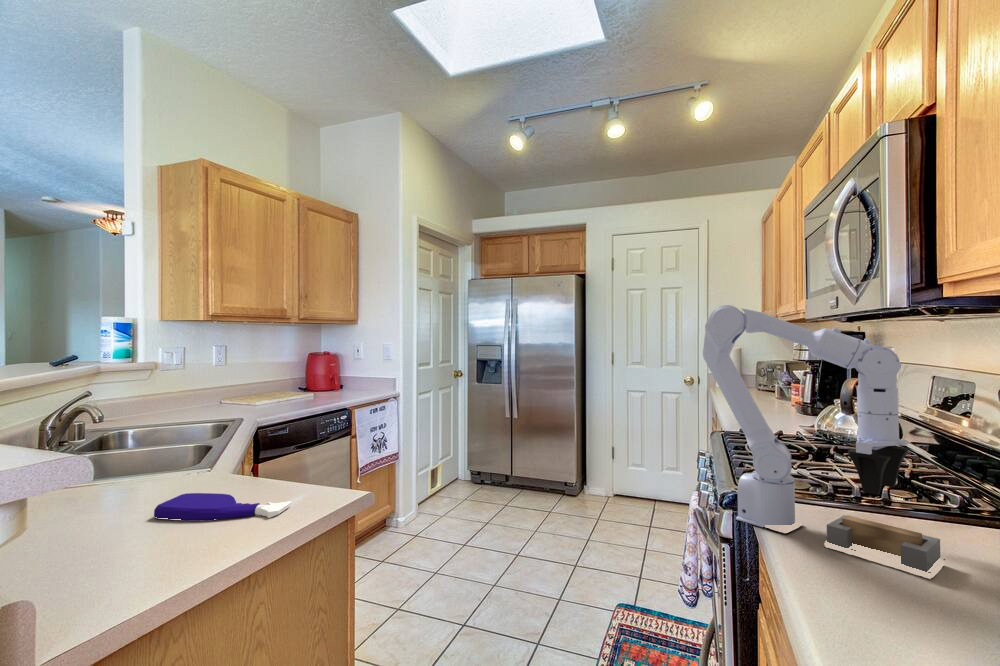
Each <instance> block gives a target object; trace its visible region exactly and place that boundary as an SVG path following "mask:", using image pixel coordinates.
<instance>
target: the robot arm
mask: <svg viewBox="0 0 1000 666" xmlns="http://www.w3.org/2000/svg"><path fill="white" fill-rule="evenodd" d="M704 330H705V332H704V339H703V349H702V356H703V359H704V362H705V363H706V365H707V367H708V370H709V371H710V374H712V376H713V379H714V380H715V383H716V384H717V385H718V388H719V390H720V391H721V393H722V395H723V397H724V399H725V401H726V403H727V404H728V406H729V408H730V411H731V412H732V414H733V415H734V418H735V420H736V421H737V424H738V425H739V427H740V429H741V431H742V433H743V434H744V436H745V438H746V442H747V445H748V448H749V450H750V452H751V454H752V465H753V469H754V470H753V471H752V472H751V473H749V472H746V473H743V474H742V475H741V476H740V477H739V480H738V483H737V516H736V517H735V520H737V521H740V522H743V523H746V524H750V525H754V526H756V527H760V528H763V527H765V525H792V524H794V523H795V521H796V499H795V498H796V495H795V494H796V491H795V490H796V489H795V487H796V486H795V477H794V476H792V475H791V472H792V454H791V451H790V449H789V448H788V447H787V446H786V444H784V443H783V442H781V441H780V440H779V439H778V437H776V434H775V433H774V432H773V430H772V429H771V428H770V426H769V424H768V423H767V420H766V419H765V417H764V416H763V414H762V411H761V410H760V408H759V406H758V405H757V402H756V400H755V399H754V398H753V395H752V394H751V392H750V390H749V388H748V386H747V385H746V383H745V381H744V379H743V378H742V376H741V373H740V372H739V370H738V368H737V367H736V364H735V363H734V361H733V359H732V358H731V352H733V351H732V350H733V348H734V346H735V343H736V341H737V340H738V339H739V338H740V337H741V335H743V333H744V332H745V333H746V334H756V333H766V334H769V335H772V336H775V337H778V338H781V339H784V340H787V341H790V342H793V343H795V344H796V343H797V344H799V345H802V346H805V347H806V348H807V349H808V352H809V353H810V355H811V356H812V357H815V358H816V359H819V360H823V361H825V362H828V363H831V364H833V365H837V366H839V367H840V368H841V367H842V368H844V369H848V370H851V369H855V370H856V371H857V372H858V375H857V378H858V379H857V381H858V385H857V386H856V389H857V390H856V396H857V397H856V403H857V404H856V405H857V435H856V441H855V449H853V448H851V449H848V450H847V454H848V455H847V456H848V458H850V459H851V461H852V463H853V465H854V467H855V469H856V471H857V475H858V477H859V478H858V479H859V481H860V485H861V488H862V491H863V493H865V494H870V495H876V496H879V495H880V494H881V490H882V486H884V487H889V488H895V486H896V484H897V480H898V475H899V472H900V470H901V469H900V468H901V466H902V463H903V461H904V459H905V457H906V456H907V454H908V452H909V448H908V447H905V446H908V445H909V441H908V440H905V439H900V425H899V424H900V423H899V422H900V421H899V416H900V415H899V388H898V384H897V383H898V378H897V374H898V373H899V372H900V371H901V368H902V365H903V363H902V362H901V361H900V358H899V356H898V354H897V353H896V352H895V351H893V350H892V349H891V348H889V347H886V346H882V345H881V346H880V345H876V344H875V345H874V344H872V345H871V343H872V340H870V339H868V338H864V340H862V339H860V338H858V337H853V336H850V335H847V334H845V333H842V329H840V328H838V327H833V328H832V329H830V328H828V327H827V328H826V327H825V328H820V329H818V330H815V331H812V330H811V329H808V328H806V327H805V328H804V327H802V326H800V325H796V324H795V323H792V322H789V321H786V320H783V319H780V318H778V317H775V316H772V315H769V314H767V313H765V312H761V311H758V310H757V311H755V310H751V309H747V308H743V307H742V308H740V309H739V308H738V307H736V306H734V305H731V304H730V305H729V304H724V305H720V306H718V307H716V308H714V309H713V310H712V311H711V313H710V315H709V317H708V319H707V320H706V323H705V324H704Z"/></svg>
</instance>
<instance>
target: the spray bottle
mask: <svg viewBox="0 0 1000 666" xmlns="http://www.w3.org/2000/svg"><path fill="white" fill-rule="evenodd" d="M292 503H293V502H292V501H291V500H288V501H282V502H280V501H279V502H277V503H274V502H270V501H268V502H267V504H261V503H260V502H257V503H249V502H248V503H247V502H246V503H242V502H237V501H236V499H235V497H234V496H233V495H232V494H227V493H210V492H209V493H207V492H206V493H203V492H194V493H193V492H191V493H182V494H180V495H177V496H176V497H173V498H170V499H168V500H166V501H163V502H162V503H159V504H157V506H155V508H154V512H153V517H154V516H155V517H157V518H168V519H181V520H213V521H215V520H214V519H221V520H227V519H226V518H231V519H238V517H240V518H248V517H247V516H249V517H255V516H261V515H262V517H267V518H268V519H270V518H273V517H275V516H278V515H279V514H280V513H282V512H284V511H285V510H287V509H288V508H290V506H291V505H292ZM254 515H255V516H254ZM155 517H154V518H155Z"/></svg>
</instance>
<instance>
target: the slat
mask: <svg viewBox="0 0 1000 666" xmlns="http://www.w3.org/2000/svg"><path fill="white" fill-rule="evenodd" d="M842 525H843V526H847V527H851V528H852V543H853V544H857V545H861V546H864V547H868V548H871V549H876V550H880V551H883V552H887V553H891V554H894V555H898V556H901V544H903V543H904V542H907V543H911V544H915V545H919V546H922V535H923V533H921V532H918V531H913V530H909V529H905V528H900V527H897V526H893V525H890V524H885V523H881V522H877V521H872V520H868V519H864V518H860V517H856V516H851V515H848V514H847V515H845V517H844V518H842Z"/></svg>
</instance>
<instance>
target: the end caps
mask: <svg viewBox="0 0 1000 666" xmlns="http://www.w3.org/2000/svg"><path fill="white" fill-rule="evenodd" d="M845 516H846V515H842V516H840V517H839V518H837V519H835V520H833V521H831V522H829V523H828V524H826V540H827V542H829V543H832V544H835V545H838V546H841V547H844V548H849V547H850V546H852V528H851V527H847V526H843V525H842V518H844V517H845ZM941 556H942V555H941V538H937V537H933V536H929V535H925V534H922V546H919V545H915V544H911V543H907V542H904V543H903V544H901V564H904V565H906V566H909V567H912V568H916V569H919V570H922V571H925V572H927V571H928V570H929V569H930V568H931V567H932V566H933V564H934V563H935V562H936V561H937V560H938V559H939V558H940V557H941ZM941 558H942V557H941Z"/></svg>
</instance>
